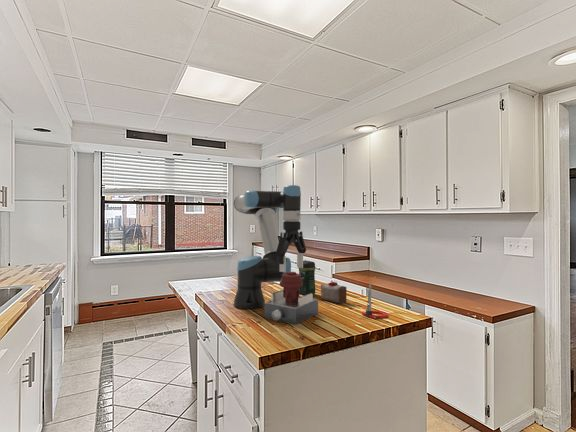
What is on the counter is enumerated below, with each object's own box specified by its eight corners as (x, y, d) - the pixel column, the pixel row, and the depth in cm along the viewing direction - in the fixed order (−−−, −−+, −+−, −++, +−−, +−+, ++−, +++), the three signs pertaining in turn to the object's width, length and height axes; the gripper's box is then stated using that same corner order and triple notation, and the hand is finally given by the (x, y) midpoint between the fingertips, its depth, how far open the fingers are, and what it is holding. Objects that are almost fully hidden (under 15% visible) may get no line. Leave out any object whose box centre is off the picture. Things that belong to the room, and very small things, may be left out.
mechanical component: (304, 298, 146) (300, 304, 136) (282, 297, 148) (277, 303, 138) (304, 270, 146) (300, 274, 136) (282, 270, 148) (277, 273, 138)
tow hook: (376, 312, 149) (360, 314, 144) (377, 281, 149) (361, 283, 144) (392, 317, 141) (375, 320, 136) (393, 285, 141) (376, 286, 136)
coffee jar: (317, 294, 182) (317, 261, 182) (306, 296, 177) (306, 262, 177) (307, 291, 189) (307, 259, 190) (296, 293, 185) (296, 260, 185)
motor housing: (260, 319, 137) (260, 296, 137) (288, 308, 154) (288, 287, 154) (291, 326, 128) (291, 302, 128) (318, 313, 145) (318, 292, 145)
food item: (318, 299, 170) (318, 280, 170) (328, 297, 176) (328, 278, 176) (339, 304, 160) (339, 284, 160) (349, 302, 166) (349, 282, 166)
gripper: (282, 221, 130) (282, 274, 130) (313, 220, 150) (313, 266, 151) (267, 221, 134) (267, 272, 134) (299, 220, 155) (299, 265, 155)
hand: (291, 269), depth 142 cm, fingers open, 13 cm apart
